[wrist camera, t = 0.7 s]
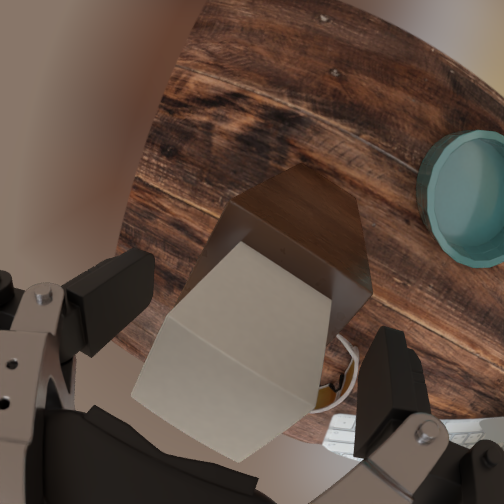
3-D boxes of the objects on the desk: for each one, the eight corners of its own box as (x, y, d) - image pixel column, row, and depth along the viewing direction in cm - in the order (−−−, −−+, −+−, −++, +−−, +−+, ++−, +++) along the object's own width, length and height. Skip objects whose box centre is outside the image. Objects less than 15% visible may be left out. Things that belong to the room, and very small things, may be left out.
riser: (301, 162, 32) (229, 198, 12) (356, 198, 32) (374, 294, 12) (268, 215, 35) (169, 316, 15) (321, 249, 35) (283, 389, 15)
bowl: (454, 105, 25) (471, 101, 21) (532, 183, 24) (554, 191, 20) (392, 205, 31) (400, 216, 26) (474, 272, 30) (488, 291, 26)
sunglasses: (312, 406, 43) (303, 428, 39) (237, 345, 45) (222, 362, 41) (380, 353, 37) (378, 375, 32) (295, 280, 39) (283, 294, 35)
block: (240, 240, 13) (166, 314, 7) (332, 300, 13) (316, 407, 7) (198, 313, 15) (129, 396, 9) (276, 364, 15) (238, 463, 9)
